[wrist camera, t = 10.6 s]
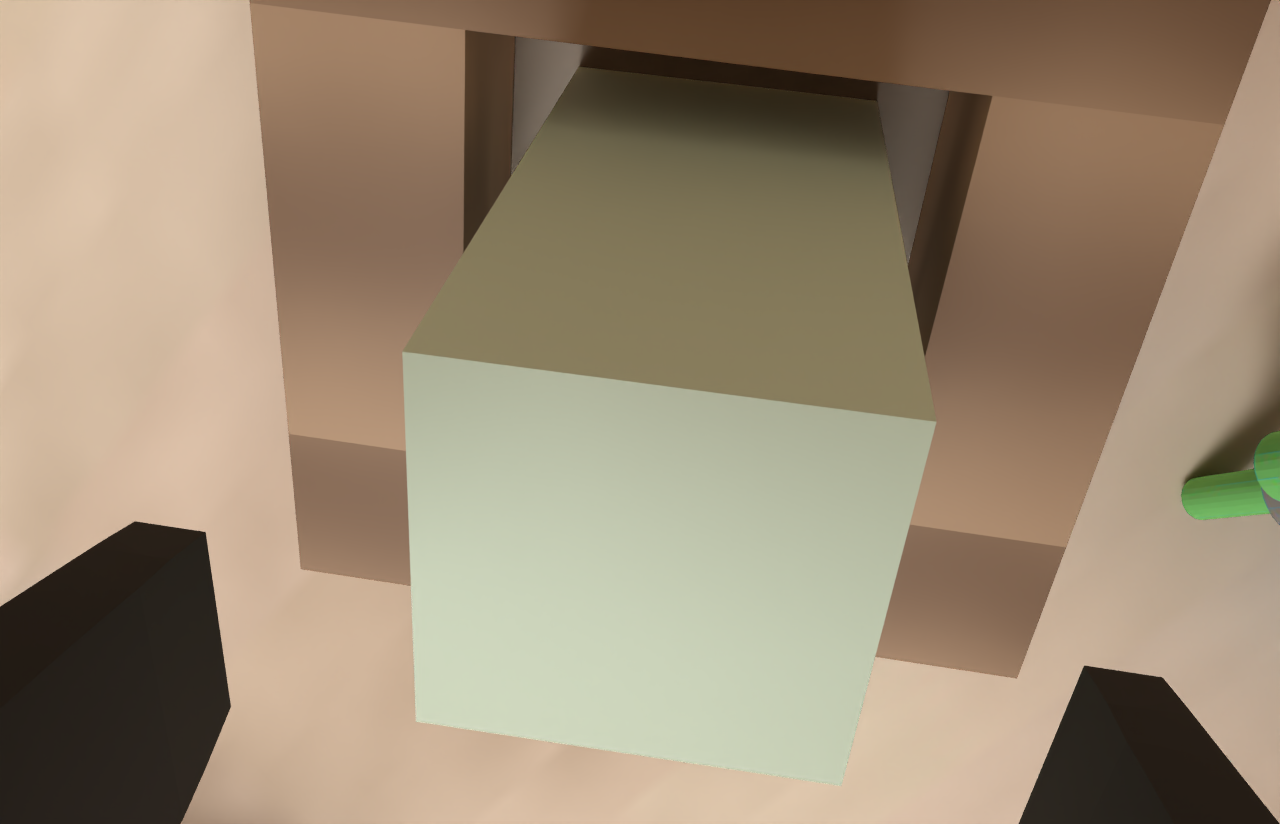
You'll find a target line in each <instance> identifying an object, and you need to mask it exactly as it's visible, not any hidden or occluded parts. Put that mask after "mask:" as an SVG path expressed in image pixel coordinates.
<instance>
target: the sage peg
mask: <svg viewBox="0 0 1280 824" xmlns="http://www.w3.org/2000/svg"><path fill="white" fill-rule="evenodd" d="M402 358H403V385H404V412H405V439H406V465H407V492H408V519H409V546H410V573H411V600H412V627H413V654H414V681H415V708H416V722H422V723H429V724H435V725H442V726H449V727H455V728H462V729H468V730H475V731H482V732H488V733H495V734H501V735H508V736H515V737H521V738H528V739H534V740H541V741H548V742H554V743H561V744H567V745H574V746H581V747H587V748H594V749H600V750H607V751H614V752H620V753H627V754H633V755H640V756H647V757H653V758H660V759H666V760H673V761H680V762H686V763H693V764H699V765H706V766H713V767H719V768H726V769H732V770H739V771H746V772H752V773H759V774H765V775H772V776H779V777H785V778H792V779H798V780H805V781H812V782H818V783H825V784H831V785H838V786H842V782H843V778H844V774H845V770H846V766H847V763H848V759H849V755H850V751H851V747H852V743H853V740H854V736H855V732H856V728H857V724H858V721H859V717H860V713H861V709H862V705H863V701H864V698H865V694H866V690H867V686H868V682H869V678H870V675H871V671H872V667H873V663H874V659H875V655H876V652H877V648H878V644H879V640H880V636H881V633H882V629H883V625H884V621H885V617H886V613H887V610H888V606H889V602H890V598H891V594H892V590H893V587H894V583H895V579H896V575H897V571H898V567H899V564H900V560H901V556H902V552H903V548H904V545H905V541H906V537H907V533H908V529H909V525H910V522H911V518H912V514H913V510H914V506H915V502H916V499H917V495H918V491H919V487H920V483H921V480H922V476H923V472H924V468H925V464H926V460H927V457H928V453H929V449H930V445H931V441H932V437H933V434H934V430H935V426H936V416H935V411H934V405H933V400H932V395H931V389H930V384H929V378H928V373H927V368H926V362H925V357H924V351H923V346H922V341H921V335H920V330H919V324H918V319H917V314H916V308H915V303H914V297H913V292H912V287H911V281H910V276H909V270H908V265H907V260H906V254H905V249H904V244H903V238H902V233H901V227H900V222H899V217H898V211H897V206H896V200H895V195H894V190H893V184H892V179H891V173H890V168H889V163H888V157H887V152H886V146H885V141H884V136H883V130H882V125H881V119H880V114H879V109H878V103H877V101H874V100H866V99H857V98H848V97H840V96H831V95H822V94H814V93H805V92H796V91H788V90H779V89H770V88H761V87H753V86H744V85H735V84H727V83H718V82H709V81H701V80H692V79H683V78H674V77H666V76H657V75H648V74H640V73H631V72H622V71H614V70H605V69H596V68H588V67H578V69H577V71H576V72H575V74H574V76H573V77H572V79H571V80H570V82H569V84H568V85H567V87H566V88H565V90H564V92H563V93H562V95H561V97H560V98H559V100H558V101H557V103H556V105H555V106H554V108H553V109H552V111H551V113H550V114H549V116H548V117H547V119H546V121H545V122H544V124H543V126H542V127H541V129H540V130H539V132H538V134H537V135H536V137H535V138H534V140H533V142H532V143H531V145H530V146H529V148H528V150H527V151H526V153H525V155H524V156H523V158H522V159H521V161H520V163H519V164H518V166H517V167H516V169H515V171H514V172H513V174H512V176H511V177H510V179H509V180H508V182H507V184H506V185H505V187H504V188H503V190H502V192H501V193H500V195H499V196H498V198H497V200H496V201H495V203H494V205H493V206H492V208H491V209H490V211H489V213H488V214H487V216H486V217H485V219H484V221H483V222H482V224H481V225H480V227H479V229H478V230H477V232H476V234H475V235H474V237H473V238H472V240H471V242H470V243H469V245H468V246H467V248H466V250H465V251H464V253H463V255H462V256H461V258H460V259H459V261H458V263H457V264H456V266H455V267H454V269H453V271H452V272H451V274H450V275H449V277H448V279H447V280H446V282H445V284H444V285H443V287H442V288H441V290H440V292H439V293H438V295H437V296H436V298H435V300H434V301H433V303H432V304H431V306H430V308H429V309H428V311H427V313H426V314H425V316H424V317H423V319H422V321H421V322H420V324H419V325H418V327H417V329H416V330H415V332H414V334H413V335H412V337H411V338H410V340H409V342H408V343H407V345H406V346H405V348H404V350H403V351H402Z"/></svg>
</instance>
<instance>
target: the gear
mask: <svg viewBox="0 0 1280 824" xmlns="http://www.w3.org/2000/svg"><path fill="white" fill-rule="evenodd" d="M1181 497H1182V503H1183V506H1184V508H1185V510H1186V511H1187V513H1188V514H1189V515H1190V516H1192V517H1194V518H1196V519H1199V520H1207V519H1217V518H1228V517H1238V516H1249V515H1259V514H1271V515H1272V517H1273V518H1274V519H1275V520H1276V522H1277V523H1278V524H1279V525H1280V431H1276V432H1272V433H1270V434H1268V435H1266V436H1265V437H1264V438H1263V439H1262V440H1261V441H1260V443H1259V444H1258V446H1257V448H1256V451H1255V454H1254V469H1250V470H1243V471H1236V472H1230V473H1223V474H1216V475H1209V476H1203V477H1197V478H1192V479H1190V480H1189V481H1187V483H1186V484H1185V485H1184V487H1183V489H1182V494H1181Z"/></svg>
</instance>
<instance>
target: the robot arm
mask: <svg viewBox="0 0 1280 824" xmlns="http://www.w3.org/2000/svg"><path fill="white" fill-rule="evenodd" d="M230 707H231V705H230V698H229V691H228V684H227V677H226V670H225V663H224V656H223V649H222V642H221V636H220V629H219V622H218V615H217V608H216V601H215V594H214V587H213V580H212V574H211V567H210V560H209V553H208V546H207V539H206V532H201V531H194V530H188V529H181V528H175V527H168V526H161V525H155V524H148V523H142V522H133V523H132V524H130V525H128V526H127V527H125V528H123V529H122V530H120V531H118V532H116V533H115V534H113V535H111V536H110V537H108V538H107V539H105V540H103V541H102V542H100V543H98V544H97V545H95V546H94V547H92V548H91V549H89V550H87V551H86V552H84V553H83V554H81V555H80V556H78V557H76V558H75V559H73V560H72V561H70V562H69V563H67V564H66V565H64V566H62V567H61V568H59V569H58V570H56V571H55V572H53V573H52V574H50V575H49V576H47V577H45V578H44V579H42V580H41V581H39V582H38V583H36V584H35V585H33V586H32V587H30V588H28V589H27V590H25V591H24V592H22V593H21V594H19V595H18V596H16V597H15V598H13V599H11V600H10V601H8V602H7V603H5V604H4V605H2V606H1V607H0V824H180V823H181V821H182V820H183V818H184V815H185V813H186V811H187V809H188V806H189V804H190V802H191V800H192V797H193V795H194V793H195V791H196V788H197V786H198V784H199V782H200V779H201V777H202V775H203V773H204V770H205V768H206V766H207V763H208V761H209V759H210V756H211V754H212V751H213V749H214V746H215V744H216V742H217V739H218V737H219V734H220V732H221V729H222V727H223V724H224V722H225V720H226V717H227V715H228V712H229V710H230ZM1019 824H1279V822H1278V821H1277V820H1276V819H1275V817H1274V816H1273V815H1272V814H1271V812H1270V811H1269V810H1268V809H1267V807H1266V806H1265V805H1264V804H1263V802H1262V801H1261V800H1260V799H1259V797H1258V796H1257V795H1256V794H1255V792H1254V791H1253V790H1252V789H1251V787H1250V786H1249V785H1248V784H1247V782H1246V781H1245V780H1244V779H1243V777H1242V776H1241V775H1240V774H1239V772H1238V771H1237V770H1236V768H1235V767H1234V766H1233V765H1232V763H1231V762H1230V761H1229V760H1228V758H1227V757H1226V756H1225V755H1224V753H1223V752H1222V751H1221V750H1220V748H1219V747H1218V746H1217V744H1216V743H1215V742H1214V741H1213V739H1212V738H1211V737H1210V736H1209V734H1208V733H1207V732H1206V731H1205V729H1204V728H1203V727H1202V726H1201V724H1200V723H1199V722H1198V720H1197V719H1196V718H1195V717H1194V715H1193V714H1192V713H1191V712H1190V710H1189V709H1188V708H1187V707H1186V705H1185V704H1184V703H1183V702H1182V701H1181V699H1180V698H1179V697H1178V696H1177V694H1176V693H1175V692H1174V691H1173V690H1172V688H1171V687H1170V686H1169V685H1168V684H1167V682H1166V681H1165V680H1164V679H1163V678H1162V677H1156V676H1149V675H1142V674H1136V673H1129V672H1123V671H1116V670H1109V669H1103V668H1096V667H1090V666H1084V668H1083V670H1082V672H1081V675H1080V677H1079V680H1078V682H1077V684H1076V687H1075V689H1074V692H1073V694H1072V697H1071V699H1070V701H1069V704H1068V706H1067V709H1066V711H1065V713H1064V716H1063V718H1062V721H1061V723H1060V725H1059V728H1058V730H1057V733H1056V735H1055V738H1054V740H1053V742H1052V745H1051V747H1050V750H1049V752H1048V754H1047V757H1046V759H1045V762H1044V764H1043V766H1042V769H1041V771H1040V774H1039V776H1038V779H1037V781H1036V783H1035V786H1034V788H1033V791H1032V793H1031V795H1030V798H1029V800H1028V803H1027V805H1026V807H1025V810H1024V812H1023V815H1022V817H1021V820H1020V822H1019Z"/></svg>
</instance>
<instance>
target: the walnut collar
mask: <svg viewBox="0 0 1280 824" xmlns="http://www.w3.org/2000/svg"><path fill="white" fill-rule="evenodd" d="M1270 1H1271V0H250V11H251V22H252V33H253V44H254V55H255V66H256V77H257V88H258V99H259V110H260V121H261V132H262V143H263V155H264V166H265V177H266V188H267V199H268V210H269V221H270V232H271V243H272V254H273V265H274V276H275V287H276V299H277V310H278V321H279V332H280V343H281V354H282V365H283V376H284V387H285V398H286V409H287V420H288V431H289V443H290V454H291V465H292V476H293V487H294V498H295V509H296V520H297V531H298V542H299V553H300V564H301V569H304V570H310V571H317V572H323V573H330V574H337V575H343V576H350V577H356V578H363V579H369V580H376V581H382V582H389V583H395V584H402V585H409V586H411V573H410V546H409V519H408V492H407V465H406V439H405V412H404V385H403V358H402V351H403V350H404V348H405V346H406V345H407V343H408V342H409V340H410V338H411V337H412V335H413V334H414V332H415V330H416V329H417V327H418V325H419V324H420V322H421V321H422V319H423V317H424V316H425V314H426V313H427V311H428V309H429V308H430V306H431V304H432V303H433V301H434V300H435V298H436V296H437V295H438V293H439V292H440V290H441V288H442V287H443V285H444V284H445V282H446V280H447V279H448V277H449V275H450V274H451V272H452V271H453V269H454V267H455V266H456V264H457V263H458V261H459V259H460V258H461V256H462V255H463V253H464V251H465V250H466V248H467V246H468V245H469V243H470V242H471V240H472V238H473V237H474V235H475V234H476V232H477V230H478V229H479V227H480V225H481V224H482V222H483V221H484V219H485V217H486V216H487V214H488V213H489V211H490V209H491V208H492V206H493V205H494V203H495V201H496V200H497V198H498V196H499V195H500V193H501V192H502V190H503V188H504V187H505V185H506V184H507V182H508V180H509V179H510V177H511V145H512V113H513V81H514V48H515V36H517V37H525V38H533V39H541V40H549V41H557V42H565V43H573V44H581V45H589V46H597V47H605V48H613V49H621V50H629V51H637V52H645V53H653V54H661V55H669V56H677V57H685V58H693V59H701V60H709V61H717V62H725V63H733V64H741V65H749V66H757V67H765V68H773V69H781V70H789V71H797V72H805V73H813V74H821V75H829V76H837V77H845V78H853V79H861V80H869V81H877V82H885V83H893V84H901V85H909V86H917V87H925V88H933V89H941V90H949V91H950V93H949V97H948V101H947V106H946V110H945V114H944V118H943V122H942V127H941V131H940V135H939V139H938V143H937V148H936V152H935V156H934V160H933V164H932V168H931V173H930V177H929V181H928V185H927V189H926V194H925V198H924V202H923V206H922V210H921V215H920V219H919V223H918V227H917V231H916V236H915V240H914V244H913V248H912V252H911V257H910V261H909V265H908V270H909V276H910V281H911V287H912V292H913V297H914V303H915V308H916V314H917V319H918V324H919V330H920V335H921V341H922V346H923V351H924V357H925V362H926V368H927V373H928V378H929V384H930V389H931V395H932V400H933V405H934V411H935V416H936V426H935V430H934V434H933V437H932V441H931V445H930V449H929V453H928V457H927V460H926V464H925V468H924V472H923V476H922V480H921V483H920V487H919V491H918V495H917V499H916V502H915V506H914V510H913V514H912V518H911V522H910V525H909V529H908V533H907V537H906V541H905V545H904V548H903V552H902V556H901V560H900V564H899V567H898V571H897V575H896V579H895V583H894V587H893V590H892V594H891V598H890V602H889V606H888V610H887V613H886V617H885V621H884V625H883V629H882V633H881V636H880V640H879V644H878V648H877V652H876V655H875V657H880V658H887V659H893V660H900V661H906V662H913V663H920V664H926V665H933V666H939V667H946V668H952V669H959V670H965V671H972V672H979V673H985V674H992V675H998V676H1005V677H1011V678H1017V677H1018V674H1019V672H1020V669H1021V666H1022V664H1023V661H1024V658H1025V656H1026V653H1027V650H1028V648H1029V645H1030V642H1031V639H1032V637H1033V634H1034V631H1035V629H1036V626H1037V623H1038V621H1039V618H1040V615H1041V613H1042V610H1043V607H1044V605H1045V602H1046V599H1047V597H1048V594H1049V591H1050V589H1051V586H1052V583H1053V581H1054V578H1055V575H1056V573H1057V570H1058V567H1059V565H1060V562H1061V559H1062V557H1063V554H1064V551H1065V549H1066V546H1067V543H1068V541H1069V538H1070V535H1071V533H1072V530H1073V527H1074V525H1075V522H1076V519H1077V517H1078V514H1079V511H1080V509H1081V506H1082V503H1083V501H1084V498H1085V495H1086V493H1087V490H1088V487H1089V485H1090V482H1091V479H1092V477H1093V474H1094V471H1095V469H1096V466H1097V463H1098V461H1099V458H1100V455H1101V453H1102V450H1103V447H1104V444H1105V442H1106V439H1107V436H1108V434H1109V431H1110V428H1111V426H1112V423H1113V420H1114V418H1115V415H1116V412H1117V410H1118V407H1119V404H1120V402H1121V399H1122V396H1123V394H1124V391H1125V388H1126V386H1127V383H1128V380H1129V378H1130V375H1131V372H1132V370H1133V367H1134V364H1135V362H1136V359H1137V356H1138V354H1139V351H1140V348H1141V346H1142V343H1143V340H1144V338H1145V335H1146V332H1147V330H1148V327H1149V324H1150V322H1151V319H1152V316H1153V314H1154V311H1155V308H1156V306H1157V303H1158V300H1159V298H1160V295H1161V292H1162V290H1163V287H1164V284H1165V282H1166V279H1167V276H1168V274H1169V271H1170V268H1171V266H1172V263H1173V260H1174V258H1175V255H1176V252H1177V250H1178V247H1179V244H1180V241H1181V239H1182V236H1183V233H1184V231H1185V228H1186V225H1187V223H1188V220H1189V217H1190V215H1191V212H1192V209H1193V207H1194V204H1195V201H1196V199H1197V196H1198V193H1199V191H1200V188H1201V185H1202V183H1203V180H1204V177H1205V175H1206V172H1207V169H1208V167H1209V164H1210V161H1211V159H1212V156H1213V153H1214V151H1215V148H1216V145H1217V143H1218V140H1219V137H1220V135H1221V132H1222V129H1223V127H1224V124H1225V121H1226V119H1227V116H1228V113H1229V111H1230V108H1231V105H1232V103H1233V100H1234V97H1235V95H1236V92H1237V89H1238V87H1239V84H1240V81H1241V79H1242V76H1243V73H1244V71H1245V68H1246V65H1247V63H1248V60H1249V57H1250V55H1251V52H1252V49H1253V46H1254V44H1255V41H1256V38H1257V36H1258V33H1259V30H1260V28H1261V25H1262V22H1263V20H1264V17H1265V14H1266V12H1267V9H1268V6H1269V4H1270Z"/></svg>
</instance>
